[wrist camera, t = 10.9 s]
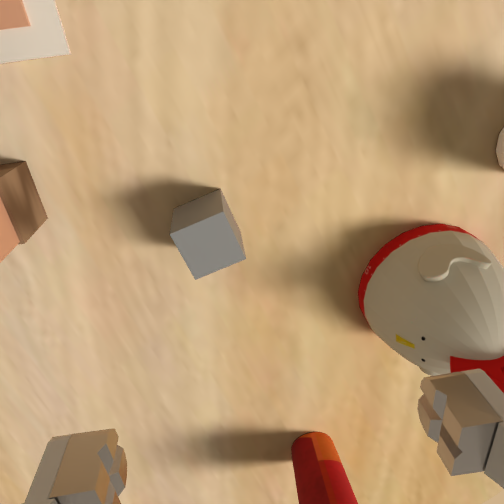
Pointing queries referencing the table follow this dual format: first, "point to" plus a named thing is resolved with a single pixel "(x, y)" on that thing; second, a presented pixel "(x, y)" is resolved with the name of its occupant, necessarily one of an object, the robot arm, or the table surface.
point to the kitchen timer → (438, 301)
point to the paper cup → (320, 471)
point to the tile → (30, 30)
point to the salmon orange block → (6, 233)
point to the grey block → (207, 234)
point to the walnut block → (21, 199)
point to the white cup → (500, 149)
